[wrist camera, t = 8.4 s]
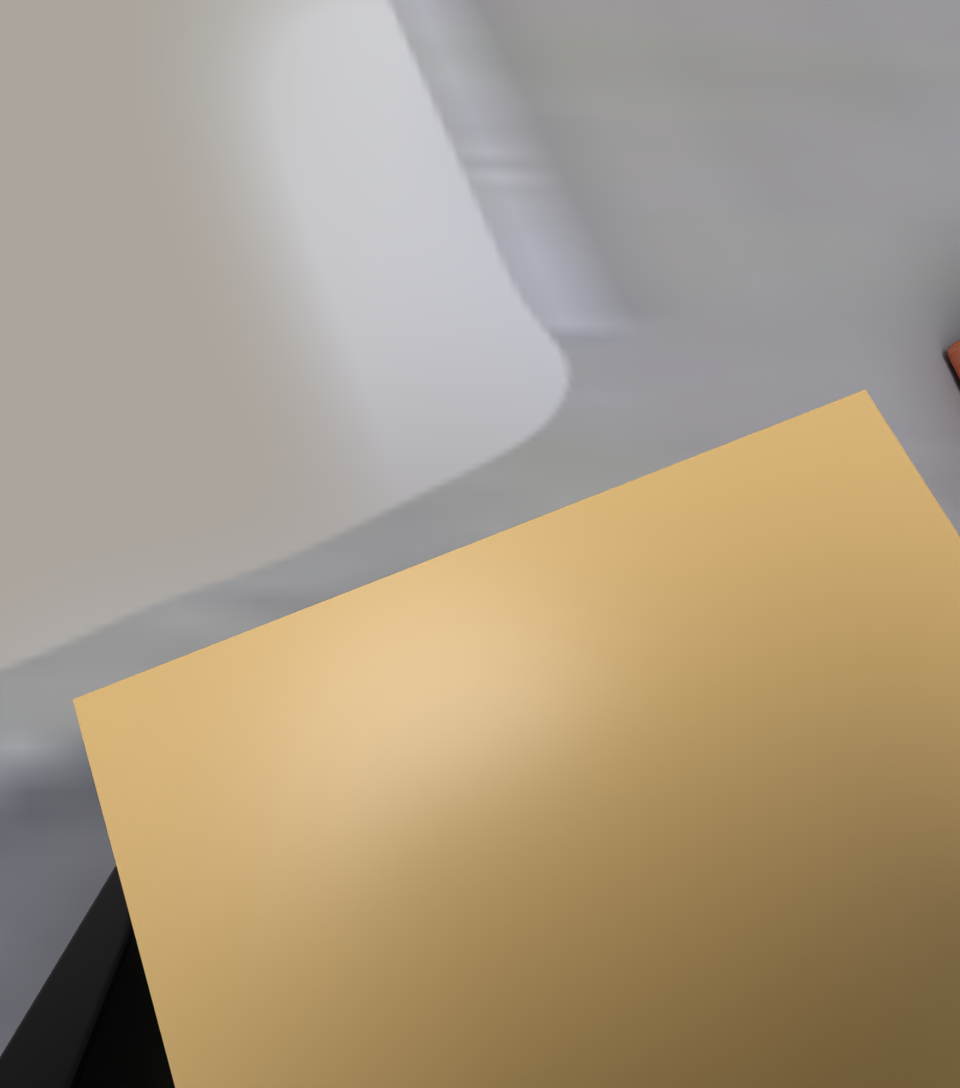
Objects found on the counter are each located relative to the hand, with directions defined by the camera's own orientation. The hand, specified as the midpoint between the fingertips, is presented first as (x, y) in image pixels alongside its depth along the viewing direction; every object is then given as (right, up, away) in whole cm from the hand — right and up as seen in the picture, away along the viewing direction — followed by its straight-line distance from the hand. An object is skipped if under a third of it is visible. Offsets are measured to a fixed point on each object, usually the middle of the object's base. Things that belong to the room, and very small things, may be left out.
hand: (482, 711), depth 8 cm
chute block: (0, -3, +8) cm, 8 cm away
